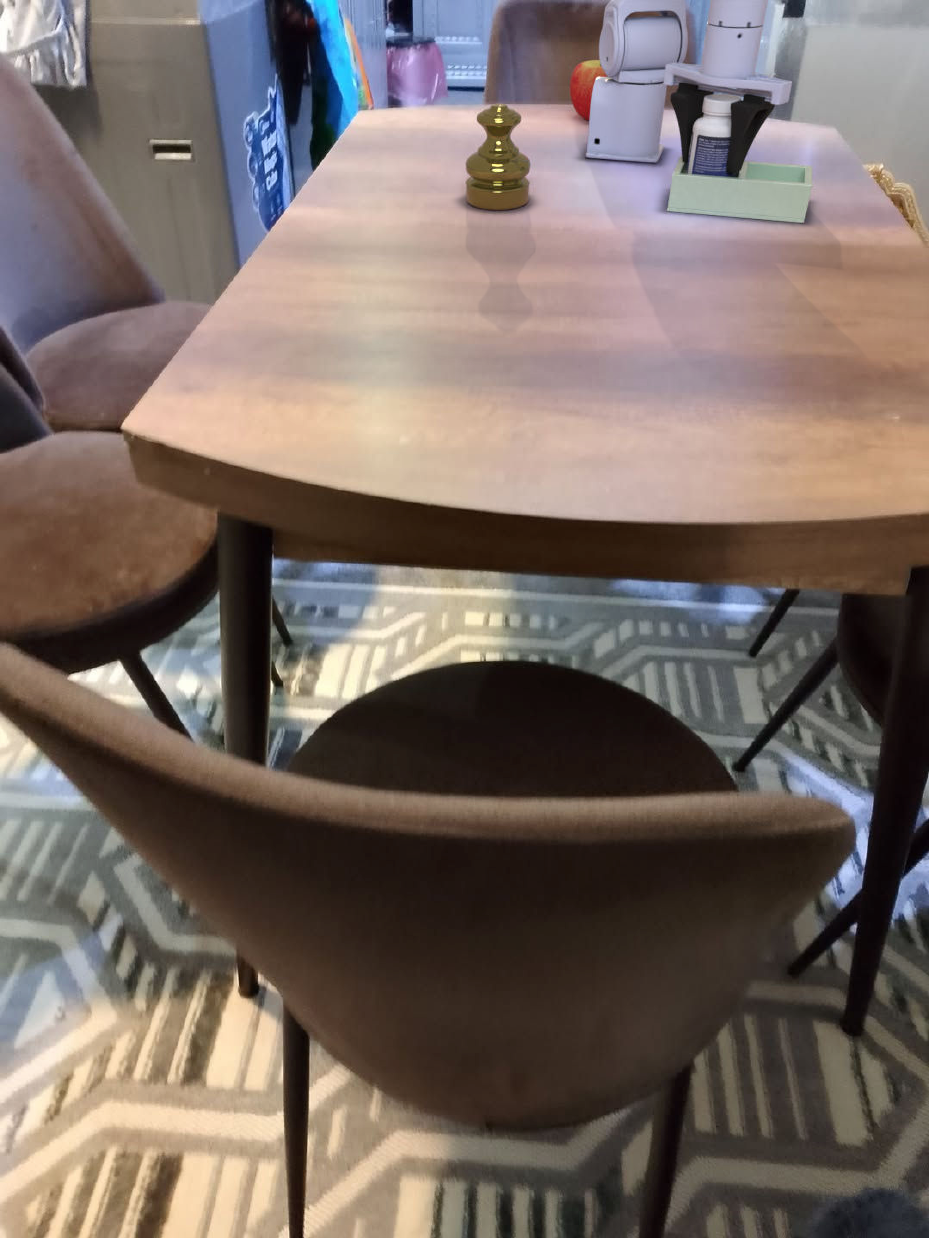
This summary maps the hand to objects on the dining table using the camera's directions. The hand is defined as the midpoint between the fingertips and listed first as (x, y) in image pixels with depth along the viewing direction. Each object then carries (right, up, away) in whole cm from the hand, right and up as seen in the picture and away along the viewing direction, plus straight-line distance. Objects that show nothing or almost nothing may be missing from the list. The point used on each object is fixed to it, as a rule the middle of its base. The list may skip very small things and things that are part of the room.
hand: (711, 166), depth 103 cm
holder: (+3, -4, +2) cm, 5 cm away
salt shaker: (-24, -3, +3) cm, 25 cm away
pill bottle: (0, -2, +2) cm, 3 cm away
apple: (-8, +24, +34) cm, 42 cm away
